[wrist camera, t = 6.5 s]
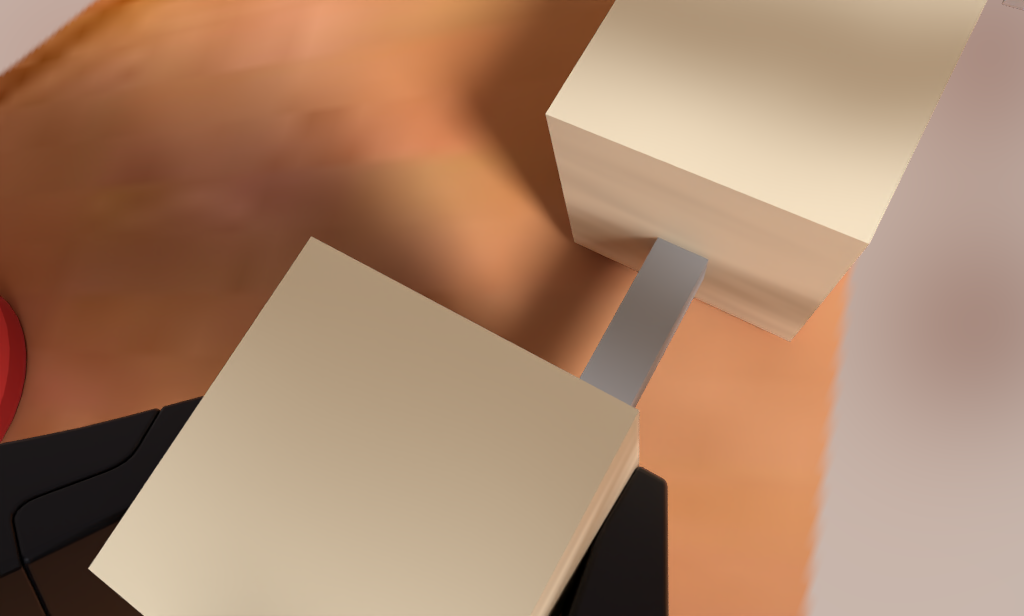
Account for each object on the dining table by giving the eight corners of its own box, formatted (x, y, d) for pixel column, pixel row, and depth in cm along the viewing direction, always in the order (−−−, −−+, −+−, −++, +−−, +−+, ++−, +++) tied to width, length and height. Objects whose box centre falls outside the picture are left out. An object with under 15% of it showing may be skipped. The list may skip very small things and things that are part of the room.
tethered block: (637, 650, 15) (631, 1027, 4) (419, 508, 17) (-33, 466, 5) (887, 144, 17) (1338, -551, 6) (675, 69, 19) (726, -573, 8)
